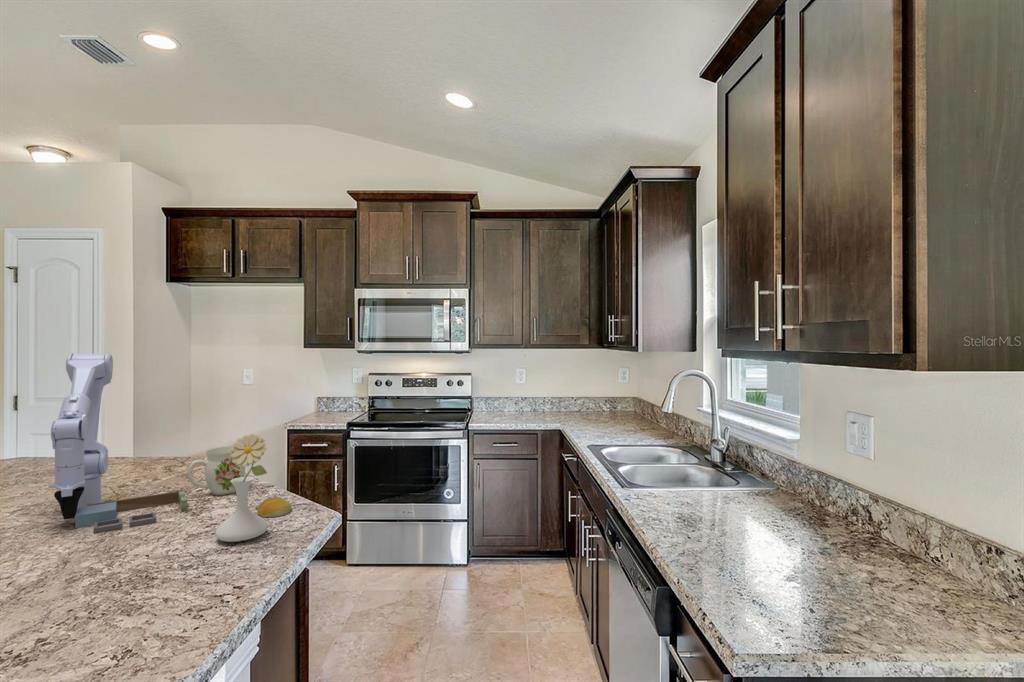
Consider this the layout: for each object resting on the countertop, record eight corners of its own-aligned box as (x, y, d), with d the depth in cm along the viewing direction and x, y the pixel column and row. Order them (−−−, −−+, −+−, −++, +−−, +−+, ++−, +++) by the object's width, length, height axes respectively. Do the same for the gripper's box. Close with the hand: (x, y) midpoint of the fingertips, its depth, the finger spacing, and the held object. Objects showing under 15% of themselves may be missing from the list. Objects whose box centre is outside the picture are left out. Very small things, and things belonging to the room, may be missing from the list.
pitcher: (184, 494, 156) (184, 449, 156) (248, 483, 168) (248, 441, 168) (191, 502, 148) (191, 455, 148) (257, 490, 160) (258, 447, 160)
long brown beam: (87, 515, 137) (87, 504, 137) (183, 500, 150) (183, 490, 150) (84, 528, 127) (84, 516, 127) (186, 510, 141) (186, 500, 141)
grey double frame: (94, 527, 128) (94, 522, 128) (155, 516, 136) (155, 512, 136) (93, 533, 124) (93, 528, 124) (156, 522, 131) (156, 518, 131)
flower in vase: (203, 542, 118) (203, 435, 118) (244, 525, 129) (244, 427, 129) (245, 550, 114) (245, 439, 114) (284, 532, 125) (284, 430, 125)
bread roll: (263, 521, 133) (263, 505, 133) (254, 512, 140) (254, 497, 140) (296, 514, 139) (296, 499, 139) (285, 506, 146) (285, 492, 146)
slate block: (78, 520, 134) (78, 507, 134) (116, 514, 139) (116, 501, 139) (75, 529, 127) (75, 515, 127) (115, 522, 132) (115, 509, 132)
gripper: (52, 461, 133) (52, 513, 133) (44, 473, 122) (44, 530, 122) (87, 458, 138) (87, 508, 138) (83, 468, 126) (82, 523, 126)
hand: (69, 518), depth 130 cm, fingers closed
